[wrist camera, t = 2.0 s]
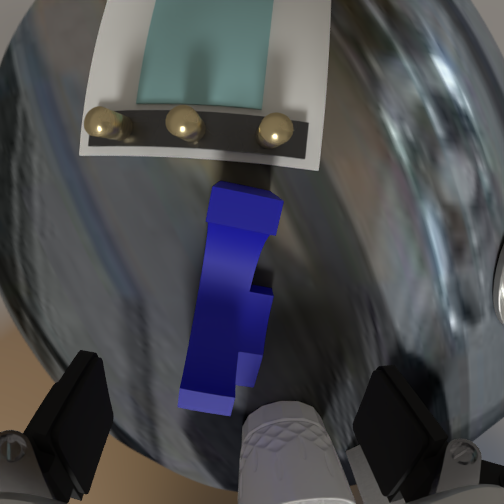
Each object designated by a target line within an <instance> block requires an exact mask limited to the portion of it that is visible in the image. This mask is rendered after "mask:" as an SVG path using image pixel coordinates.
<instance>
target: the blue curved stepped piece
mask: <svg viewBox="0 0 504 504" xmlns="http://www.w3.org/2000/svg"><path fill="white" fill-rule="evenodd" d="M283 202H284V201H283V200H281V199H280V198H279V197H277V196H276V195H275V194H273V193H272V192H271V191H268V190H264V189H259V188H254V187H249V186H245V185H240V184H235V183H230V182H225V181H219V182H218V183H216V184H215V185H214V186H213V187H212V192H211V197H210V202H209V207H208V212H207V217H206V222H208V232H207V241H206V248H205V255H204V261H203V267H202V273H201V279H200V285H199V291H198V297H197V302H196V308H195V313H194V319H193V324H192V330H191V335H190V340H189V346H188V351H187V356H186V361H185V366H184V371H183V376H182V381H181V385H180V391H179V399H178V407H180V408H185V409H190V410H195V411H201V412H207V413H213V414H220V415H226V416H230V415H231V411H232V408H233V404H234V400H235V385H239V386H246V387H254V385H255V381H256V378H257V375H258V371H259V368H260V364H261V361H262V357H263V352H264V344H265V337H266V330H267V325H268V319H269V314H270V310H271V305H272V301H273V297H274V295H273V292H272V288H268V287H262V286H257V285H251V283H252V279H253V276H254V272H255V268H256V265H257V262H258V259H259V256H260V253H261V250H262V248H263V245H264V243H265V241H266V239H267V238H268V236H269V235H275V236H276V232H277V228H278V224H279V219H280V215H281V211H282V206H283Z"/></svg>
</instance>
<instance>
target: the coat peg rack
mask: <svg viewBox="0 0 504 504" xmlns="http://www.w3.org/2000/svg"><path fill="white" fill-rule="evenodd" d="M308 127H309V123H308V122H301V121H295V120H290V119H289V117H287V116H286V115H284V114H282V113H277V112H275V113H270V114H268V115H267V116H265V117H264V116H255V115H245V114H233V113H221V112H205V111H195V110H194V109H193V108H192V107H190V106H187V105H179V106H176V107H174V108H173V109H171V110H122V111H112V110H110V109H107V108H105V107H102V106H97V107H94V108H92V109H91V110H90V111H89V112H88V113H87V114H86V116H85V119H84V128H85V131H86V132H87V133H88V134H89V141H88V146H90V147H165V148H187V149H204V150H218V151H231V152H242V153H252V154H262V155H271V156H279V157H287V158H295V159H305V156H306V147H307V137H308Z"/></svg>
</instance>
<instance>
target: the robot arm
mask: <svg viewBox="0 0 504 504" xmlns="http://www.w3.org/2000/svg"><path fill="white" fill-rule="evenodd" d="M493 302H494V309H495V313H496V315H497V318H498V320H499V321H500V322H501V323H502V324H503V325H504V244H503V247H502V250H501V253H500V256H499V260H498V263H497V267H496V273H495V278H494V289H493ZM112 423H113V411H112V406H111V402H110V397H109V393H108V388H107V382H106V377H105V372H104V366H103V361H102V358H99V357H98V355H97V353H94V352H89V351H83V350H80V351H79V352H78V354H77V355H76V357H75V358H74V359H73V361H72V362H71V364H70V365H69V367H68V368H67V370H66V371H65V373H64V374H63V376H62V377H61V379H60V380H59V382H57V383H55V384H54V385H53V386H52V388H51V390H50V391H49V393H48V394H47V396H46V397H45V399H44V400H43V402H42V404H41V405H40V407H39V408H38V410H37V411H36V413H35V415H34V416H33V418H32V419H31V421H30V423H29V424H28V426H27V428H26V429H25V431H24V433H21V432H19V431H14V430H6V431H3V432H0V504H67V503H68V502H69V500H70V497H71V498H74V499H77V500H80V501H81V500H82V497H83V494H88V493H89V490H90V487H91V484H92V481H93V478H94V475H95V472H96V469H97V465H98V463H99V460H100V457H101V454H102V451H103V448H104V445H105V443H106V440H107V437H108V434H109V431H110V429H111V426H112ZM353 431H354V433H355V435H356V437H357V440H358V442H359V444H360V446H361V448H362V451H363V453H364V455H365V457H366V459H367V462H368V464H369V466H370V468H371V471H372V473H373V475H374V477H375V480H376V482H377V484H378V486H379V489H380V491H381V493H382V495H383V496H385V497H386V496H387V498H388V501H389V503H391V502H394V501H398V500H401V499H404V501H405V504H504V466H502V465H498V464H495V463H491V462H488V461H484V460H481V452H480V450H479V448H478V447H477V446H476V445H475V444H474V443H473V442H471V441H469V440H466V439H455V440H453V441H451V442H450V443H448V442H447V441H446V440H447V438H448V436H447V434H446V433H445V432H444V430H443V429H442V427H441V426H440V425H439V423H438V422H437V421H436V419H435V418H434V417H433V415H432V414H431V413H430V411H429V410H428V409H427V407H426V406H425V405H424V403H423V402H422V401H421V399H420V398H419V397H418V395H417V394H416V393H415V391H414V390H413V389H412V387H411V386H410V385H409V383H408V382H407V381H406V380H405V378H404V377H403V376H402V374H401V373H400V372H399V371H398V369H397V368H396V367H395V366H394V365H388V366H379V367H378V368H377V369H376V370H375V371H373V373H372V375H371V378H370V381H369V384H368V386H367V389H366V392H365V394H364V397H363V400H362V402H361V405H360V407H359V410H358V412H357V415H356V417H355V419H354V422H353Z"/></svg>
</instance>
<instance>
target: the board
mask: <svg viewBox="0 0 504 504" xmlns="http://www.w3.org/2000/svg"><path fill="white" fill-rule="evenodd" d="M330 19H331V0H108V1H107V4H106V7H105V11H104V14H103V18H102V21H101V25H100V29H99V33H98V37H97V41H96V45H95V50H94V54H93V59H92V64H91V69H90V74H89V80H88V86H87V92H86V98H85V105H84V112H83V120H82V129H81V139H80V151H79V156H154V157H178V158H196V159H210V160H223V161H235V162H246V163H256V164H266V165H275V166H283V167H291V168H299V169H306V170H315V171H319V163H320V153H321V144H322V134H323V123H324V112H325V101H326V88H327V74H328V59H329V41H330ZM179 105H187V106H190V107H192V108H193V109H194V110H195V111H205V112H221V113H233V114H245V115H255V116H264V117H265V116H267V115H268V114H270V113H275V112H277V113H282V114H284V115H286V116H287V117H289V119H290V120H295V121H301V122H308V123H309V127H308V137H307V147H306V156H305V159H295V158H287V157H279V156H271V155H262V154H252V153H242V152H231V151H218V150H204V149H187V148H165V147H90V146H88V141H89V134H88V133H87V132H86V131H85V128H84V119H85V116H86V114H87V113H88V112H89V111H90V110H91V109H92V108H94V107H97V106H102V107H105V108H107V109H110V110H112V111H122V110H171V109H173V108H174V107H176V106H179Z"/></svg>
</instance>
